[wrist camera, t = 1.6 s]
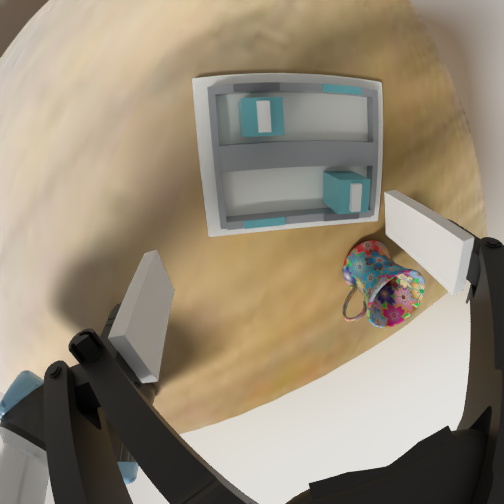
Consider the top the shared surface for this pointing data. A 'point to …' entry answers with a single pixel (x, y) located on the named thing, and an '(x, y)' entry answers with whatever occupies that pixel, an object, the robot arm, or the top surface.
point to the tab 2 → (346, 191)
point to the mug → (381, 285)
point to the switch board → (295, 127)
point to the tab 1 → (261, 116)
